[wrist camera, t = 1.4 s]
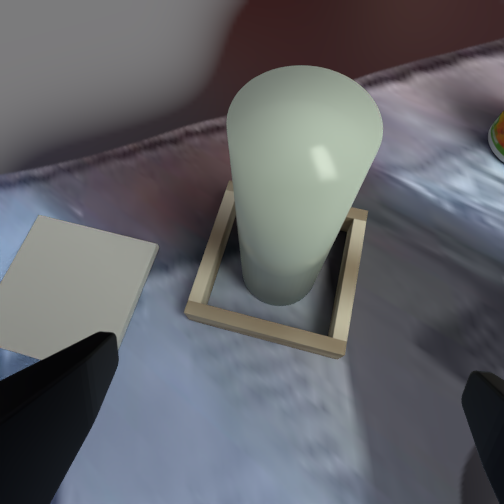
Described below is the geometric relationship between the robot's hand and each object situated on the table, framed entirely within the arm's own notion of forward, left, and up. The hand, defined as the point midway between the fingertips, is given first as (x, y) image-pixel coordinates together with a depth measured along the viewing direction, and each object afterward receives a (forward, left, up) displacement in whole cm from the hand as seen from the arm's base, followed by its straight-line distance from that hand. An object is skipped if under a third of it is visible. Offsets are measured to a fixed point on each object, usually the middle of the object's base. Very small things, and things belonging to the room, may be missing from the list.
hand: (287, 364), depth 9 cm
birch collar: (+7, +1, -13) cm, 15 cm away
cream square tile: (+2, +14, -13) cm, 20 cm away
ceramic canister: (+7, +1, -13) cm, 15 cm away
